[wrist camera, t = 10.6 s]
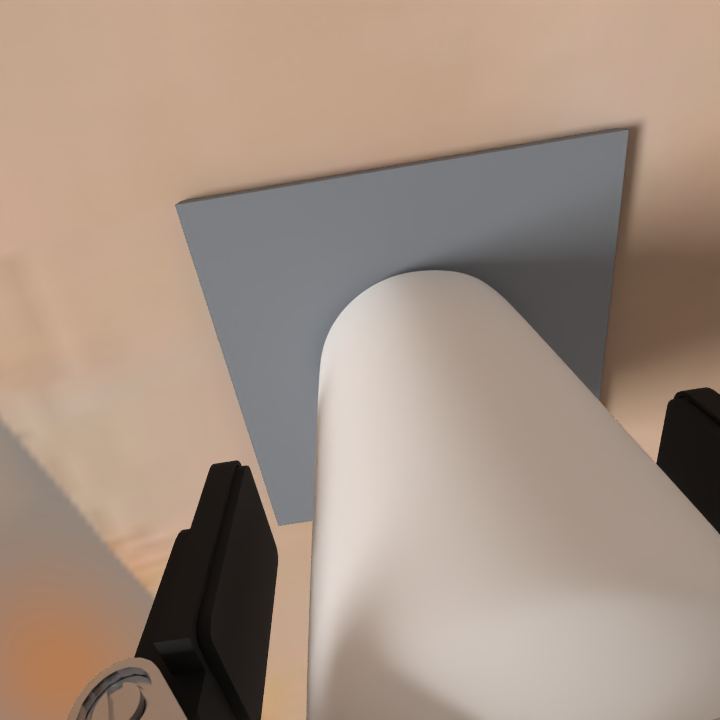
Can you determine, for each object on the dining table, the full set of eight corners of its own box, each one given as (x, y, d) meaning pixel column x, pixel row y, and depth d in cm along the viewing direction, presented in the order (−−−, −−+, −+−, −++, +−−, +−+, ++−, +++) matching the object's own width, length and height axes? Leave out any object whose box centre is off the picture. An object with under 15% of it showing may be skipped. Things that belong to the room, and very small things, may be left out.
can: (550, 279, 14) (1187, 783, 4) (490, 451, 17) (746, 1007, 7) (333, 249, 13) (345, 779, 3) (309, 435, 16) (271, 1034, 6)
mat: (181, 200, 13) (175, 205, 13) (616, 128, 13) (628, 129, 12) (279, 513, 19) (278, 525, 18) (583, 467, 19) (591, 478, 18)
